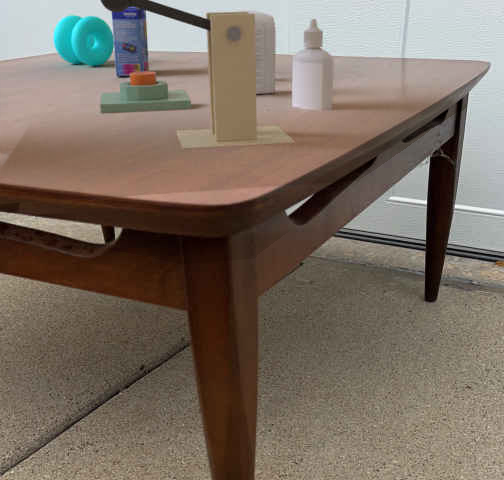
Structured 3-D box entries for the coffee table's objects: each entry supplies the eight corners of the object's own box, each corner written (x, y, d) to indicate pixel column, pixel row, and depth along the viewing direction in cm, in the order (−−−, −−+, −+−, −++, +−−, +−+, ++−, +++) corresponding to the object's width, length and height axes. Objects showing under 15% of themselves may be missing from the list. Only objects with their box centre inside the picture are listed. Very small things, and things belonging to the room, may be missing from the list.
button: (130, 88, 94) (129, 75, 93) (130, 84, 97) (129, 71, 96) (157, 87, 94) (156, 74, 93) (156, 83, 97) (155, 70, 97)
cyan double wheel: (93, 61, 157) (87, 13, 153) (118, 64, 151) (114, 14, 146) (54, 65, 151) (47, 16, 146) (79, 68, 144) (73, 17, 140)
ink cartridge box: (145, 77, 131) (138, -7, 125) (115, 77, 131) (107, -6, 125) (151, 70, 140) (145, -8, 134) (123, 71, 140) (116, -7, 133)
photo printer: (271, 90, 113) (271, 8, 108) (279, 94, 109) (279, 10, 104) (210, 94, 111) (206, 11, 105) (215, 98, 107) (212, 12, 102)
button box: (101, 121, 92) (98, 90, 90) (103, 108, 101) (100, 80, 99) (191, 116, 93) (189, 86, 92) (185, 104, 102) (183, 76, 101)
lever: (95, 7, 67) (102, -28, 66) (96, 6, 70) (103, -28, 69) (240, 52, 71) (249, 21, 70) (236, 49, 74) (244, 19, 73)
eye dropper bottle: (304, 119, 90) (305, 21, 85) (289, 112, 95) (289, 18, 90) (335, 117, 91) (338, 19, 86) (318, 110, 96) (320, 17, 91)
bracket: (183, 159, 72) (174, 17, 66) (177, 141, 80) (168, 12, 74) (295, 152, 74) (296, 13, 68) (278, 135, 82) (277, 9, 76)
